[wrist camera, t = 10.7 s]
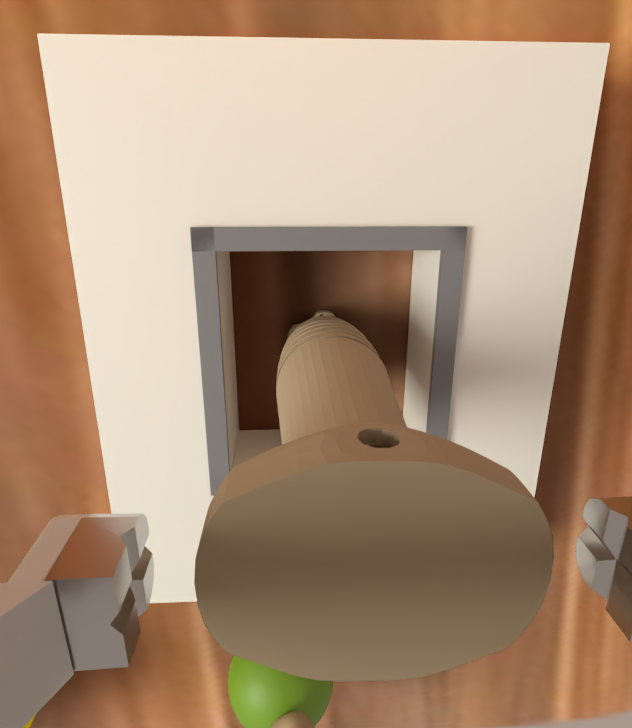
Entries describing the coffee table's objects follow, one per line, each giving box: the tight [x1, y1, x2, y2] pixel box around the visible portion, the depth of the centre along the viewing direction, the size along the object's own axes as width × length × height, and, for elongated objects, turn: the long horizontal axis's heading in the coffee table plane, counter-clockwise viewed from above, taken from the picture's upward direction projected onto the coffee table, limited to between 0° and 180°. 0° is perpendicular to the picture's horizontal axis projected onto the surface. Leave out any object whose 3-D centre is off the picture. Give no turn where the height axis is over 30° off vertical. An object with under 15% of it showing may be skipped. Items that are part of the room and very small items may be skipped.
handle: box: [194, 310, 554, 682], centre depth 16 cm, size 5×6×15 cm
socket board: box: [37, 34, 610, 603], centre depth 21 cm, size 22×18×4 cm
